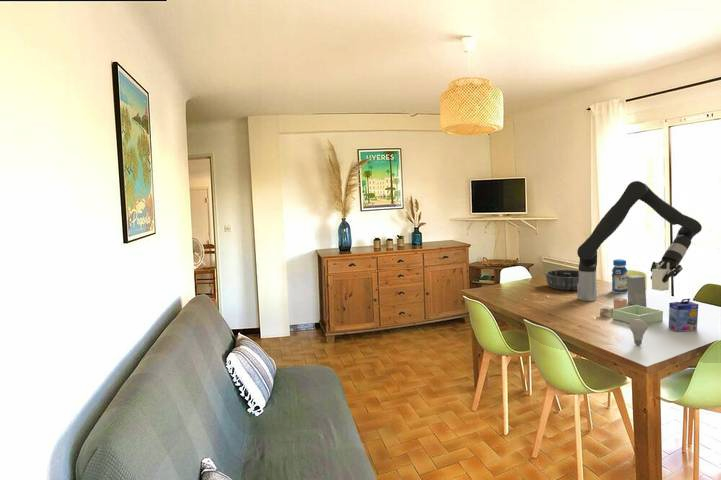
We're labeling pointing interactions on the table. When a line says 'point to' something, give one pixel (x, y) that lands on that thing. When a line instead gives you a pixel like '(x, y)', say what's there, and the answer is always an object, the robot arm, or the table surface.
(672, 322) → the ink cartridge box
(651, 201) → the robot arm
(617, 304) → the reddish brown block
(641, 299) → the skincare box
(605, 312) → the beech block
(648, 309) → the tub
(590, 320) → the table surface
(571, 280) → the bundt pan
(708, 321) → the table surface
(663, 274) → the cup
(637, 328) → the lightbulb
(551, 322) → the table surface
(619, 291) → the beverage bottle
